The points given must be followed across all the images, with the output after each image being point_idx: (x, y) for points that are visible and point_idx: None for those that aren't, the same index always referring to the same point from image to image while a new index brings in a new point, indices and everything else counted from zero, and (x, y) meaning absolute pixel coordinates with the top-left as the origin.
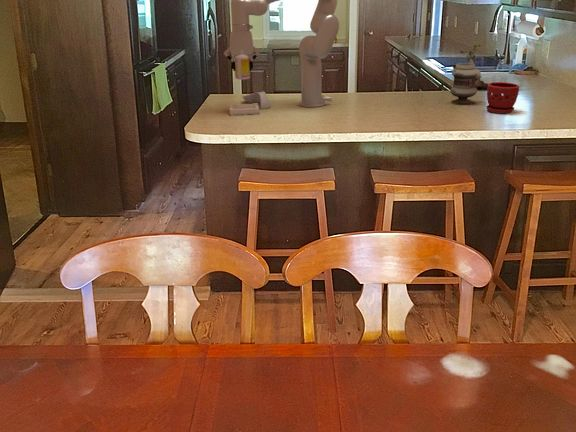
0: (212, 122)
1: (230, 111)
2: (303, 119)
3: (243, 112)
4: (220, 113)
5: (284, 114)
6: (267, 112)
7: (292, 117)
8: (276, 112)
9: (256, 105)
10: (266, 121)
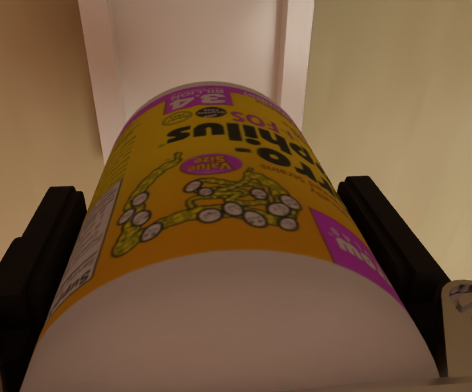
0: None
1: None
2: (468, 274)
3: None
4: (30, 77)
5: (427, 163)
6: (349, 92)
7: (439, 234)
8: (402, 101)
9: (296, 37)
10: None
